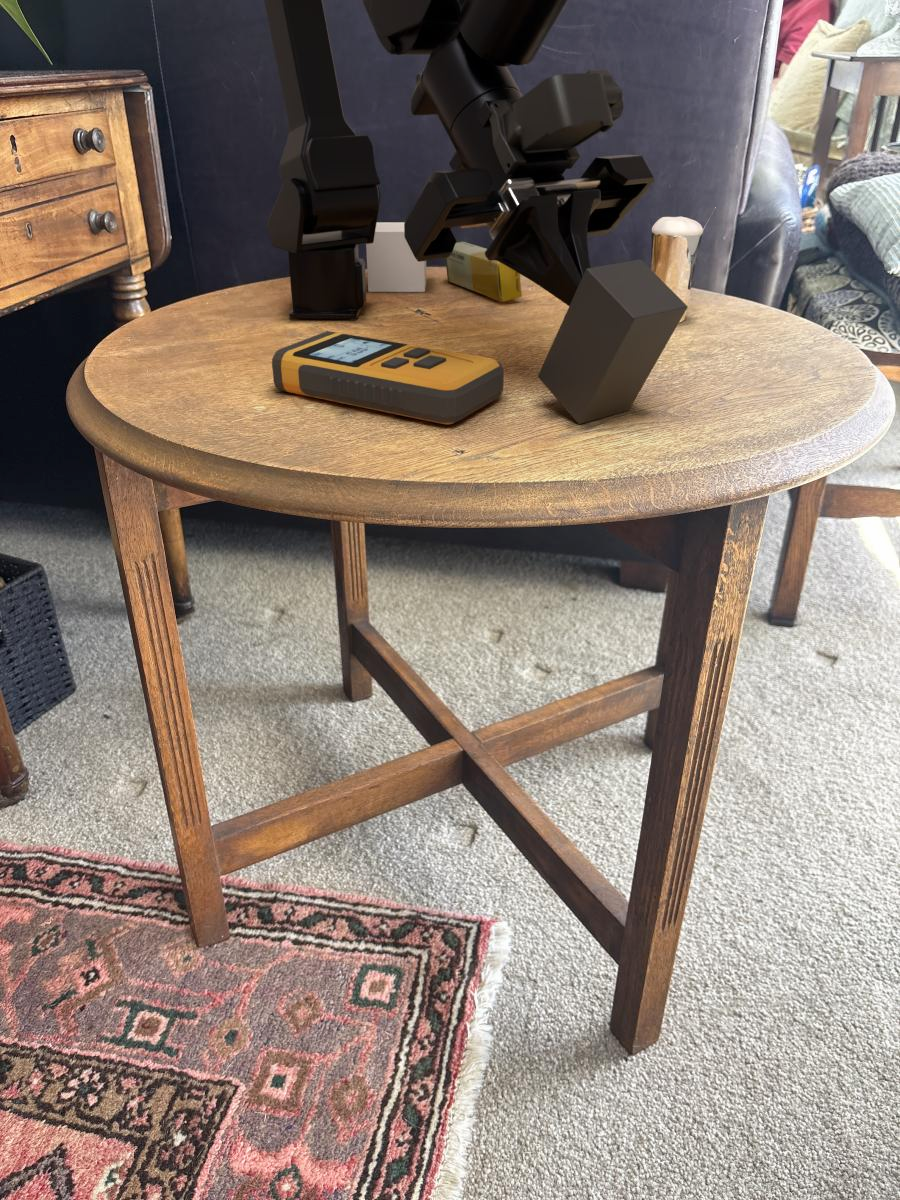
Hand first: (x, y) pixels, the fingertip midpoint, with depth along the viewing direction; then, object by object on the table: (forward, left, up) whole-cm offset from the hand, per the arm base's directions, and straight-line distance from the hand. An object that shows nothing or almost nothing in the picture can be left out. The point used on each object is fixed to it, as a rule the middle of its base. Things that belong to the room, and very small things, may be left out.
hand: (587, 308), depth 64 cm
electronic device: (-14, +2, -7) cm, 16 cm away
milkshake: (+11, +26, -7) cm, 29 cm away
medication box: (-7, +37, -7) cm, 38 cm away
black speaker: (0, 0, -6) cm, 6 cm away
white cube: (-16, +40, -7) cm, 43 cm away
